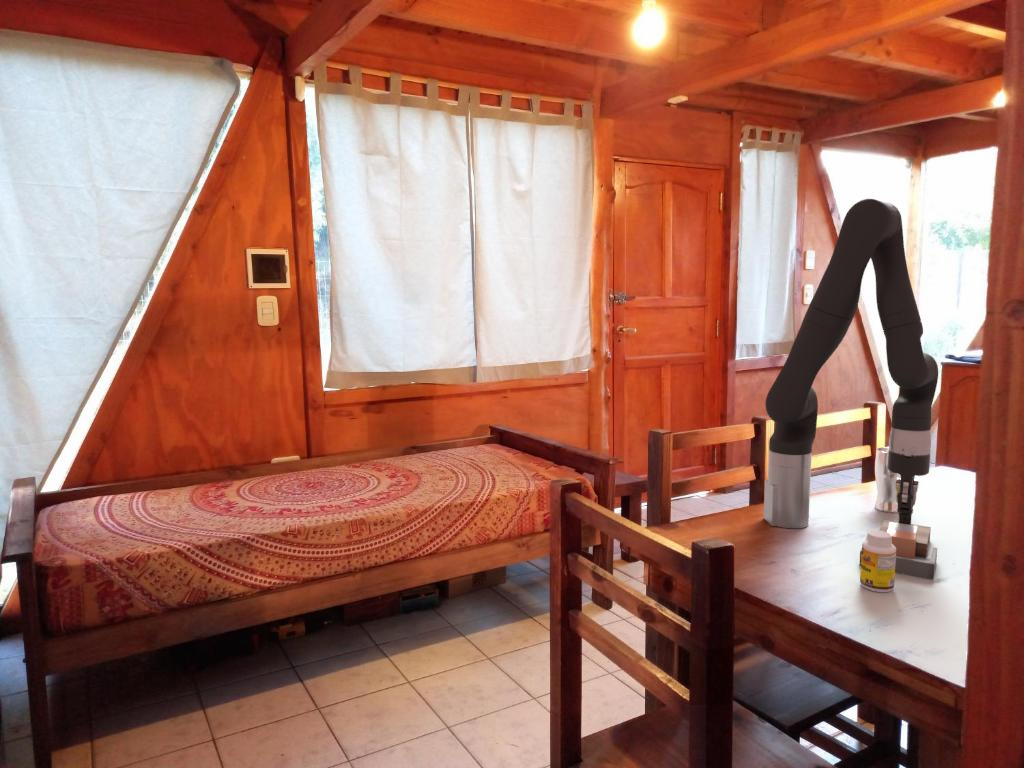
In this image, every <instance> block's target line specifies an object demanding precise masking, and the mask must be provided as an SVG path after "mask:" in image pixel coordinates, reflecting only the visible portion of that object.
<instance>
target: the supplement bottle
mask: <svg viewBox="0 0 1024 768" xmlns="http://www.w3.org/2000/svg"><path fill="white" fill-rule="evenodd" d="M866 537H867V540H866V539H865V540H866V541H865V540H864V541H863V542H862V543H861V548H862V555H861V566H860V574H859V583H860V585H861V586H862V587H863V588H864V589H867V590H869V591H871V592H874V593H875V592H877V593H889V592H891V591H893V590H894V588H895V579H896V578H895V577H896V573H895V562H896V547H895V546H894V545H893V544H892V535H891V534H890V533H887V532H884V531H880V530H875V529H874V530H868V531H867V535H866Z"/></svg>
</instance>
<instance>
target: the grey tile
mask: <svg viewBox="0 0 1024 768" xmlns="http://www.w3.org/2000/svg"><path fill="white" fill-rule="evenodd" d="M894 522H895V521H893V522H890V523H889V528H888V529H891V530H897V531H904V532H910V533H916V539H917V526H914V525H915V524H913V525H907V524H901V523H894Z"/></svg>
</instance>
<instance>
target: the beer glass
mask: <svg viewBox="0 0 1024 768" xmlns="http://www.w3.org/2000/svg"><path fill="white" fill-rule="evenodd" d="M888 451H889V446H885V447H883V446H882V447H878V448H876V453H875V461H874V475H875V476H874V477H875V483H876V491H877V495H876V501H875V504H874V509H875V510H876V511H879V512H882V513H889V514H899V513H898V511H897V509H898V503H897V502H896V496H897V490H896V481H897V478H901V476H900V474H898V473H893V472H891V471H889V470H888Z"/></svg>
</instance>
